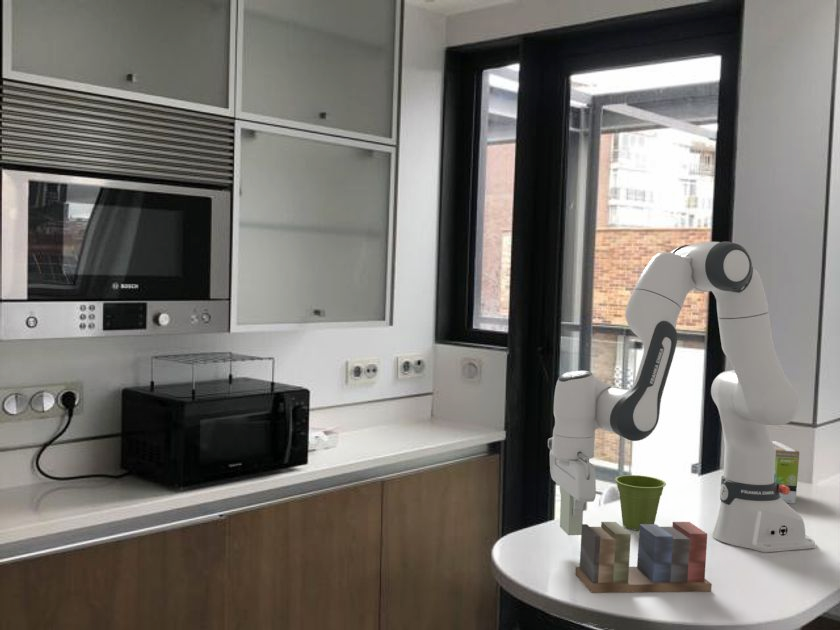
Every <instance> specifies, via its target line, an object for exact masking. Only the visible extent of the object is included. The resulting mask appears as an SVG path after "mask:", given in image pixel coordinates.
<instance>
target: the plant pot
mask: <svg viewBox="0 0 840 630" xmlns="http://www.w3.org/2000/svg"><path fill="white" fill-rule="evenodd" d="M614 480H615V482H616V483H617V491H618V492H619V493H618V494H619V501H620V502H619V503H620V511H621V512H620V513H621V519H622V527H623V528H624V527H625V529H632V530H633V531H638V532H639V525H640V524H656V523H655V522H656V518H657V513H658V508H659V505H660V500H661V496H662V495H663V491H664V488H665V487H666V485H667V483H666V482H665V481H664V480H663V479H659V478H657V477H651V476H648V475H636V474H624V475H620V476H616V477H615V479H614Z"/></svg>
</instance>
